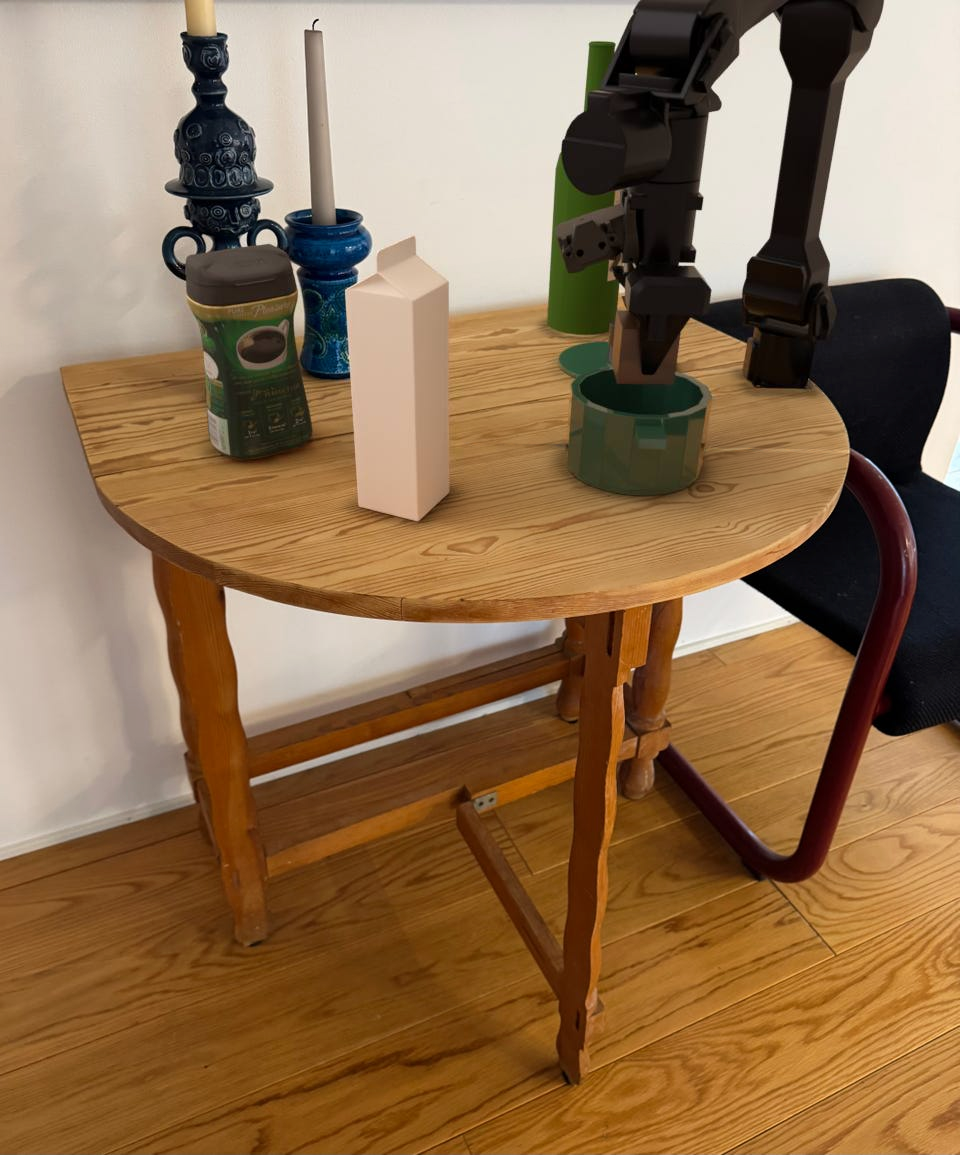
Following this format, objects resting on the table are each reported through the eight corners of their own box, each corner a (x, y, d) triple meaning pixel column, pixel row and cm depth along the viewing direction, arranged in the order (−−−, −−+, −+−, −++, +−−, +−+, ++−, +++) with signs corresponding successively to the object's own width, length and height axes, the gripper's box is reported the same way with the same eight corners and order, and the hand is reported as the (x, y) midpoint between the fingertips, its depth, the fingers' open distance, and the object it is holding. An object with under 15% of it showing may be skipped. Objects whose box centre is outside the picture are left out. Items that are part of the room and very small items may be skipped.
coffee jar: (290, 418, 98) (271, 232, 88) (323, 447, 92) (307, 252, 82) (199, 439, 93) (168, 245, 83) (228, 470, 88) (198, 267, 78)
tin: (683, 426, 98) (693, 356, 94) (716, 511, 83) (730, 432, 78) (560, 424, 98) (565, 354, 94) (572, 508, 83) (578, 429, 79)
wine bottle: (611, 342, 119) (638, 46, 101) (541, 335, 121) (556, 43, 103) (619, 320, 127) (646, 40, 109) (553, 314, 128) (568, 38, 110)
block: (665, 364, 87) (672, 311, 85) (673, 385, 83) (681, 329, 80) (611, 363, 87) (616, 310, 85) (616, 384, 83) (622, 328, 80)
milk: (358, 507, 82) (338, 247, 70) (392, 479, 87) (380, 229, 75) (419, 523, 80) (411, 256, 68) (451, 492, 85) (448, 238, 73)
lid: (665, 351, 117) (671, 305, 114) (683, 393, 105) (690, 344, 102) (554, 348, 117) (557, 303, 114) (560, 390, 105) (564, 341, 102)
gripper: (558, 155, 84) (549, 327, 93) (571, 200, 68) (559, 402, 77) (684, 157, 84) (663, 329, 93) (726, 202, 68) (696, 405, 77)
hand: (643, 363), depth 85 cm, fingers closed on block, 5 cm apart
